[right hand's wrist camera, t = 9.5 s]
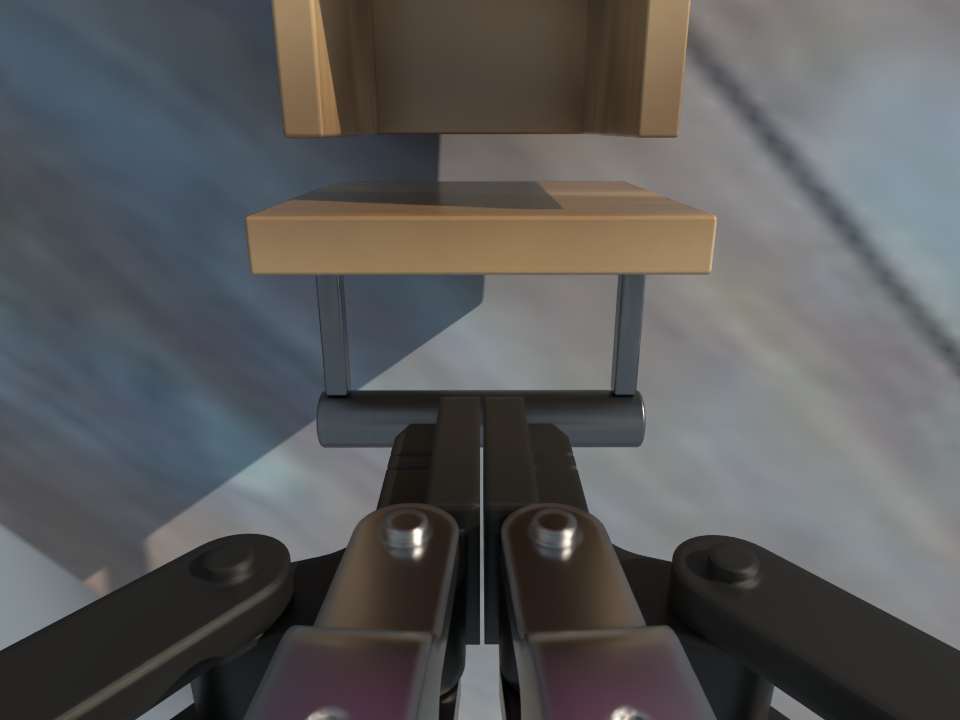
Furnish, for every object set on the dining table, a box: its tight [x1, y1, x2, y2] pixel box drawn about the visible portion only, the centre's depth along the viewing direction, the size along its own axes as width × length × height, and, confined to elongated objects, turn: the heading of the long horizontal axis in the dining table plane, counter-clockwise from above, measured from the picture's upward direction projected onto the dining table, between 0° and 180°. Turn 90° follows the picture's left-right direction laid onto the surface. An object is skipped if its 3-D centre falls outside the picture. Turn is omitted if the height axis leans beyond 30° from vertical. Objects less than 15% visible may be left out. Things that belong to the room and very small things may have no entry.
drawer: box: [245, 0, 717, 448], centre depth 16 cm, size 20×9×9 cm, turn 0°
